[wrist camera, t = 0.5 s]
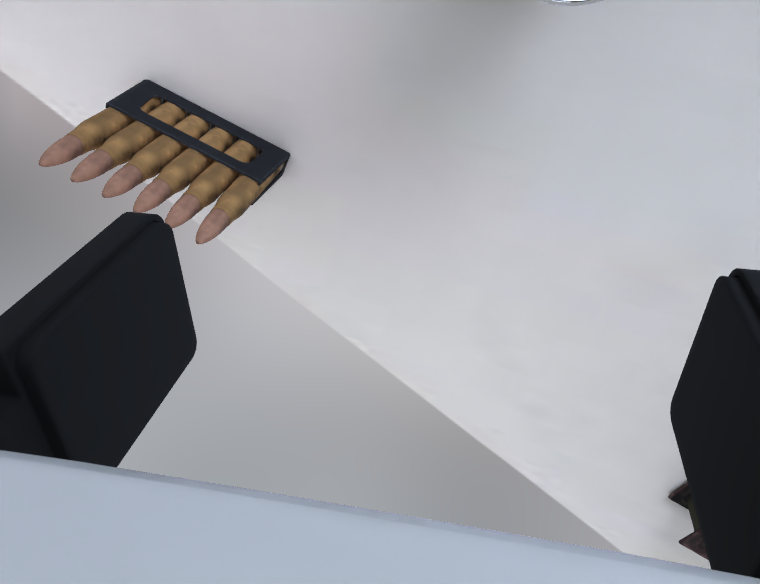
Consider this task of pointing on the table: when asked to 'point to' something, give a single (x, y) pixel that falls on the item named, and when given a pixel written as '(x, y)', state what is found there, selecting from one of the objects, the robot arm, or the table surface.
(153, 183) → the ammunition clip
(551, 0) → the beer glass
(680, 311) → the table surface
